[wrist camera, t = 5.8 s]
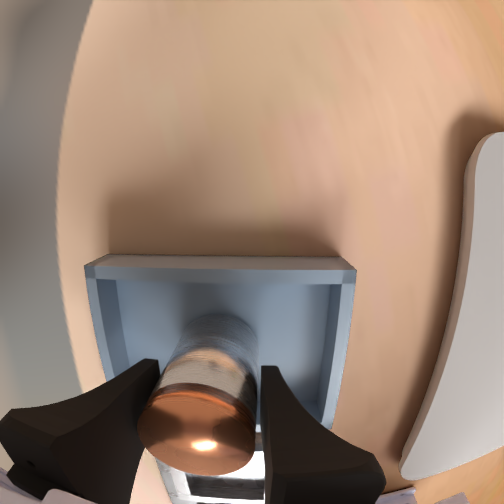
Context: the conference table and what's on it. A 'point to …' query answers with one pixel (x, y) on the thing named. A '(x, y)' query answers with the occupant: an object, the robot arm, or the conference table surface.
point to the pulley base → (218, 483)
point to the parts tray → (229, 313)
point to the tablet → (468, 334)
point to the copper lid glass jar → (205, 400)
